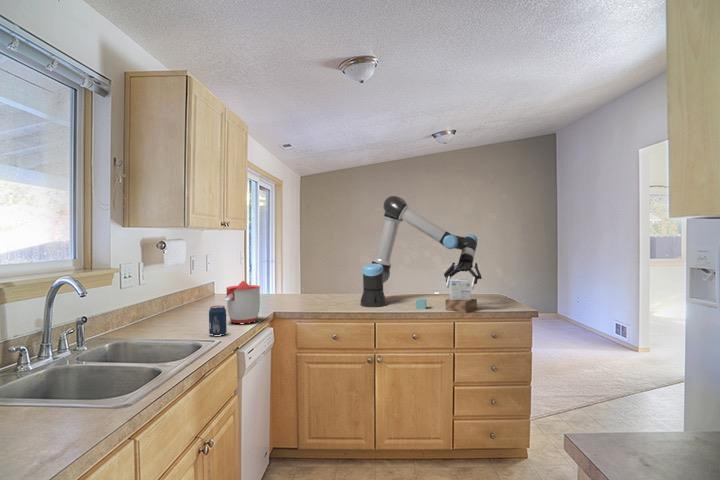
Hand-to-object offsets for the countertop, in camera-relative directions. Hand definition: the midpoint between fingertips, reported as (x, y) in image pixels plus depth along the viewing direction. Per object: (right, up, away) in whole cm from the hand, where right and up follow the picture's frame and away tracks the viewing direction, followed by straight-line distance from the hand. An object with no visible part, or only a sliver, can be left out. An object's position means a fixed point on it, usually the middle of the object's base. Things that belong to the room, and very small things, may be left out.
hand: (459, 287), depth 233 cm
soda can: (-113, -15, -49) cm, 124 cm away
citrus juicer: (-109, -14, -24) cm, 113 cm away
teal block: (-19, -12, +9) cm, 24 cm away
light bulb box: (+1, -7, +2) cm, 7 cm away
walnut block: (+1, -13, +2) cm, 13 cm away
